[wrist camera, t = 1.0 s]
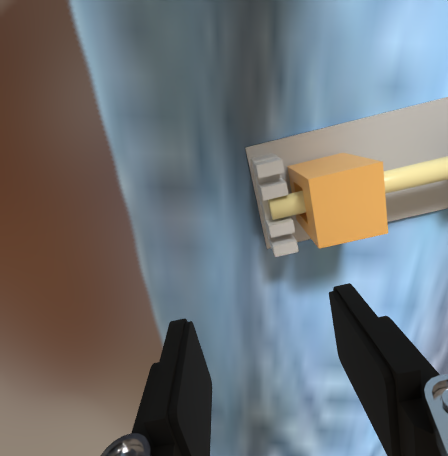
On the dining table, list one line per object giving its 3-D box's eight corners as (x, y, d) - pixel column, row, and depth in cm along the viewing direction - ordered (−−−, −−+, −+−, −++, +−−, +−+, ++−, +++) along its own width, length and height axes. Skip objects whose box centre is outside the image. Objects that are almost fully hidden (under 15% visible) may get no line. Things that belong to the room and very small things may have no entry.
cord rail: (245, 147, 27) (251, 153, 21) (491, 85, 26) (574, 73, 20) (266, 247, 31) (277, 277, 24) (487, 197, 29) (557, 216, 23)
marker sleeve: (287, 166, 27) (308, 179, 21) (343, 152, 27) (382, 161, 20) (296, 220, 29) (318, 248, 22) (349, 208, 28) (388, 233, 22)
